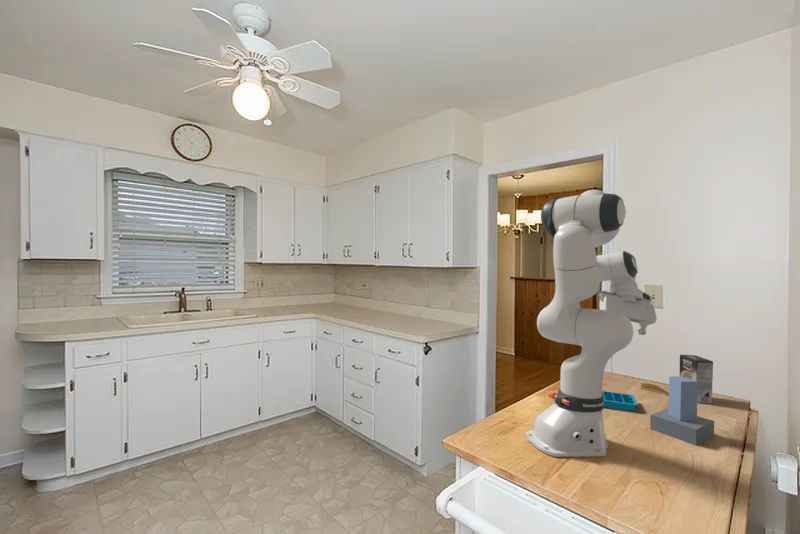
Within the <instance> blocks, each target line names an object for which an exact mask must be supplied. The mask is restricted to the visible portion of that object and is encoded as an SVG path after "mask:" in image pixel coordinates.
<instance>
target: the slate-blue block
mask: <svg viewBox="0 0 800 534" xmlns="http://www.w3.org/2000/svg"><path fill="white" fill-rule="evenodd" d="M668 379H669V381H668V393H669V394H668V408H669V411H668V414H669V415H671V416H673V417H674V418H676V419H678V420H680V421H697V416H698V403H697V395H698V382H697V381H695V380H692V379H690V378H687V377H680V376H674V375H673V376H671V375H670V376H669V378H668Z"/></svg>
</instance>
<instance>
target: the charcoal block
mask: <svg viewBox="0 0 800 534" xmlns="http://www.w3.org/2000/svg"><path fill="white" fill-rule="evenodd" d="M668 411H669V407H667V408H665V409H662V410H659V411H657V412H654V413H651V414H650V424H649V425H650V429H649V430H651V431H654V432H658V433H660V434H662V435H665V436H668V437H671V438H674V439H677V440H680V441H681V442H685V443H688V444H690V445H694V446H697V445H700V444H702V443H704V442H706V441H707V440H710V439H711V438H714V437H715V420H713V419H712V420H711V419H709V418H705V417H702V416H699V415H697V421H680V420H678V419H676V418H674V417H673V416H671V415H669V414H668Z"/></svg>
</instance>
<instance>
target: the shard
mask: <svg viewBox="0 0 800 534" xmlns="http://www.w3.org/2000/svg"><path fill="white" fill-rule="evenodd" d="M637 385H639V386H640V387H639V388H640V389H641V390H645V391H649V392H653V393H657V394H661V395H665V396H669V391H666V390H664V389H663V388H661V387H660V385H659V386H658V385H657V384H654V383H648V382H647V383H645V382H638V384H637Z"/></svg>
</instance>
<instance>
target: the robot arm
mask: <svg viewBox="0 0 800 534" xmlns="http://www.w3.org/2000/svg"><path fill="white" fill-rule="evenodd" d="M626 210H627V209H626V206H625V203H624V200H623V198H622V197H621V196H619V195H618V194H615V193H606V192H604V191H602V190H599V189H589V190H586V191H584V192H582V193H580V194H578V195H571V196H564V197H561V198H559V197H557V198H553V199H550V200H548V201H546V202H545V204H544V205H543V206H542V208H541V213H540V220H541V224H542V225H541V226H542V227H543V228H544V230H545V232H547V234H549V235H550V237H552V239H553V246H552V257H553V258H552V259H553V269H554V283H555V291H554V296H553V298H552V300H551V301H550V303H549V304H548V305H547V306H545V307H544V308H543V309H542V310H540V312H539V314H538V315H537V317H536V327H537V328H536V329H537V330H538V332H539V334H540V335H541V337H543V338H544V339H548V340H550V341H553V342H556V343H563V344H567V345H569V344H570V345H575V346H581V352H580V354H578V355H574V356H571V357H568V358H566V359H565V360H564V361H563V362H562V363H561V366H560V388H559V389H558V392H555V391H553V390H549V391H548V392H547V397H549V398H550V399H552V400H554V402H553V403H552V404H551V405H550V406H549V407H548V408H546V409H545V410H544V411H542V412H541V413H540V414H538V415H537V416H536V418H535V422H534V425H533V426H534V428H533V429H530V430H526V433H525V437H526V439H527V441H528V442H529V443H530V444H531V445H532V446H533V447H535V448H537V449H538V450H540V452H543V453H544V454H546V455H549V456H551V457H557V458H560V457H562V458H565V457H568V458H569V457H570V458H572V457H573V458H575V457H578V458H579V457H581V458H582V457H606V456H607V454H608V453H607V449H608V448H609V444H608V439H607V437H606V433H605V431H606V430H605V426H604V418H603V410H604V409H605V407H604V396H603V395H602V391H603V384H604V383H603V382H604V372H605V368H606V366H607V364H608V362H609V360H610V359H611V358H612V357H613V356H614V355H615V354H616V353H618V352H620V351H621V350H624V349H625V348H626V347H628V346H629V345H630V343H631V342H632V340H633V337H634V326H633V325H632V323H636V324H639V326H640V329H639V328H638V330H637V332H638V335H642V336H645V335H646V334H647V331H646V330H647V328H648V326H650V325H653V324H655V323H656V321H657V320H658V319H657V312H656V310H655V306H654V303H652V302H653V297H652V296H651V295H650V294H648V293H646V292H644V291H643V290H641V289H640V288H639V286H638V283H637V281H636V278H637V277H636V276H637V274H638V273H639V272H638V266H637V261H636V257H635V256H634V255H633V254H632V253H629V252H628V251H626V250H623V251H622V250H620V251H615V252H609V253H604V254H598V255H597V251H596V248H599V247H601V246H603V245H606V244H608V243H610V242H611V241H613V240H614V239H615V238H616V237H617V235H618V234H619V232H620V228H621V226H623V225H624V221H625V218H626ZM606 281H607V282H608V281H609V282H610V285H609V291H606V290H602V291H601V292H599V294H598V295H599V309H597V308H586V307H581V306H580V302H582V301H586V300H588V299H590V298H591V297H593V296H595V295H596V293H597V292H598V290H599V288H600V283H601V282H606Z"/></svg>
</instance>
